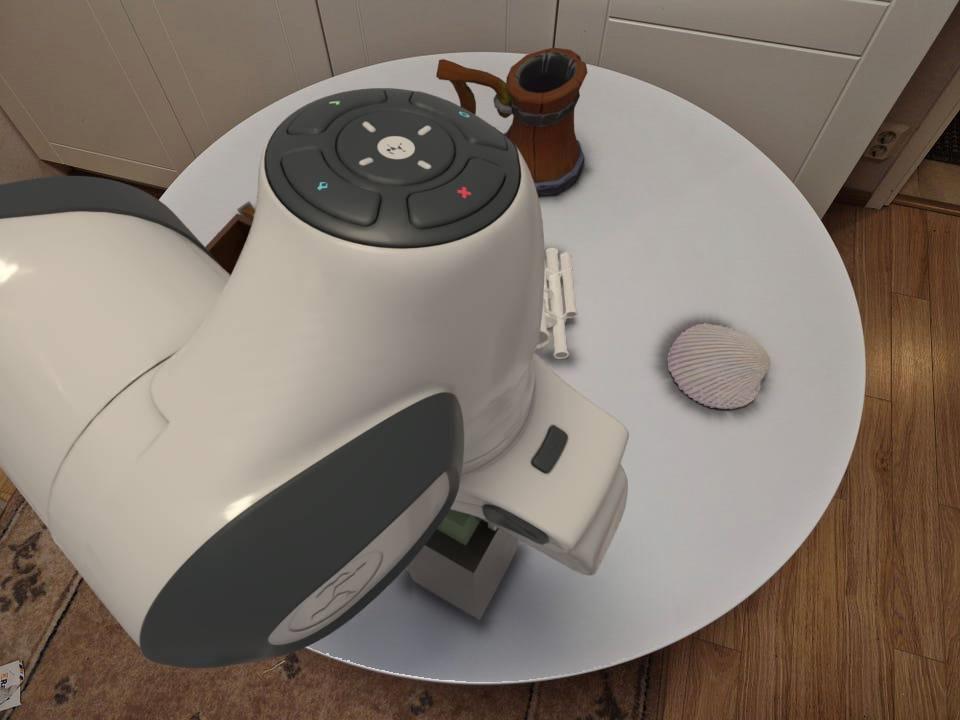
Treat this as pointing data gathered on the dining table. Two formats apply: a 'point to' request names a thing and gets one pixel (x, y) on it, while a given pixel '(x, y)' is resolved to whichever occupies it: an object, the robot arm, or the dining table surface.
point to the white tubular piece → (557, 302)
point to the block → (459, 526)
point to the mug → (534, 110)
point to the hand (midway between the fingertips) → (453, 493)
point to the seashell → (718, 365)
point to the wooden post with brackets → (247, 210)
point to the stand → (464, 567)
